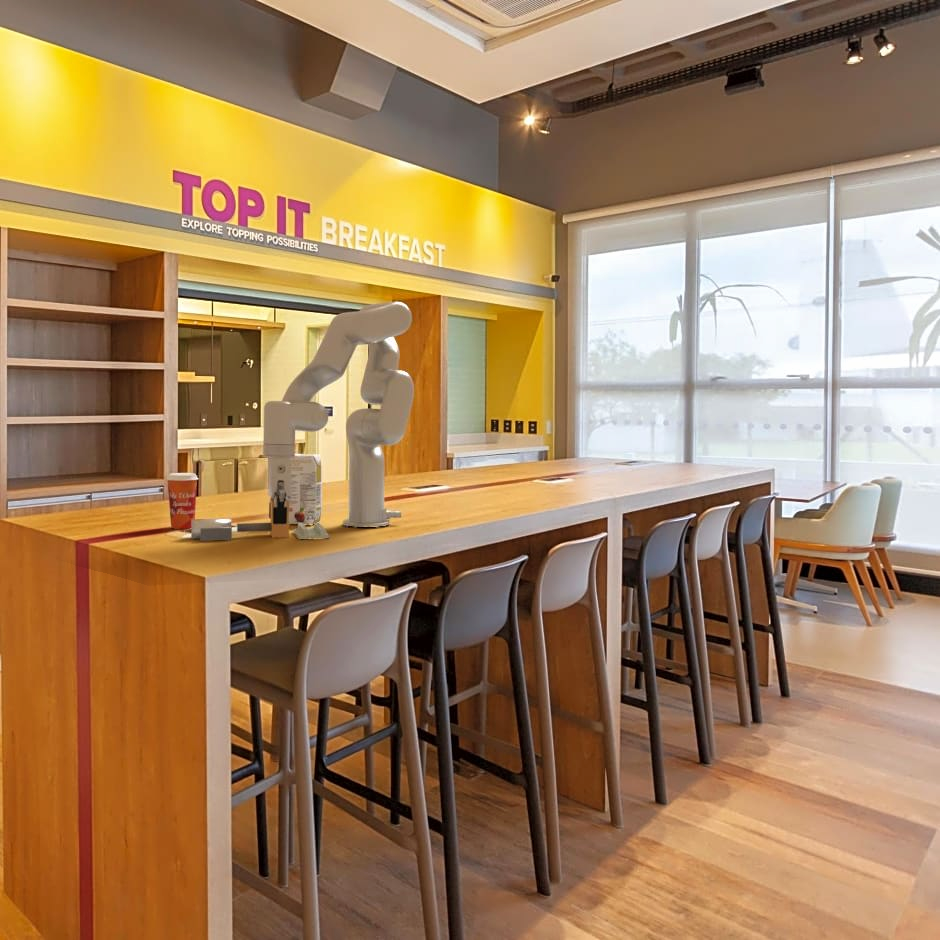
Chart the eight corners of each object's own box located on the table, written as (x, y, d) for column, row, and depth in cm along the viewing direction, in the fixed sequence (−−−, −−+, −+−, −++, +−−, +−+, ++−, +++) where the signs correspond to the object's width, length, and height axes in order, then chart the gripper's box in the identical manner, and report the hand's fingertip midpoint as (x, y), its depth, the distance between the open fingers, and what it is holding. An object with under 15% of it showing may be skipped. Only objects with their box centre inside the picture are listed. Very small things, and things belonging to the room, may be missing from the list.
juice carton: (313, 526, 211) (313, 455, 209) (283, 524, 212) (283, 454, 211) (324, 522, 218) (324, 453, 216) (295, 521, 220) (295, 452, 218)
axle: (230, 537, 193) (230, 518, 193) (231, 538, 188) (231, 518, 188) (191, 539, 190) (191, 519, 190) (191, 540, 185) (191, 519, 185)
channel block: (230, 534, 194) (230, 522, 194) (231, 540, 187) (231, 527, 187) (200, 535, 192) (200, 523, 192) (200, 541, 185) (200, 528, 184)
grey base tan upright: (286, 534, 197) (286, 498, 196) (288, 537, 193) (288, 500, 193) (236, 536, 193) (236, 499, 192) (237, 538, 189) (237, 501, 189)
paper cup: (165, 530, 199) (164, 475, 198) (168, 525, 206) (167, 472, 205) (198, 529, 201) (197, 475, 200) (199, 525, 209) (199, 472, 207)
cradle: (321, 531, 202) (321, 522, 202) (329, 538, 192) (329, 529, 191) (294, 532, 200) (294, 523, 199) (299, 540, 189) (299, 530, 189)
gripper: (299, 453, 186) (297, 525, 187) (290, 450, 202) (289, 516, 203) (266, 453, 183) (265, 526, 184) (260, 449, 200) (259, 516, 201)
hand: (277, 521), depth 194 cm, fingers open, 9 cm apart
